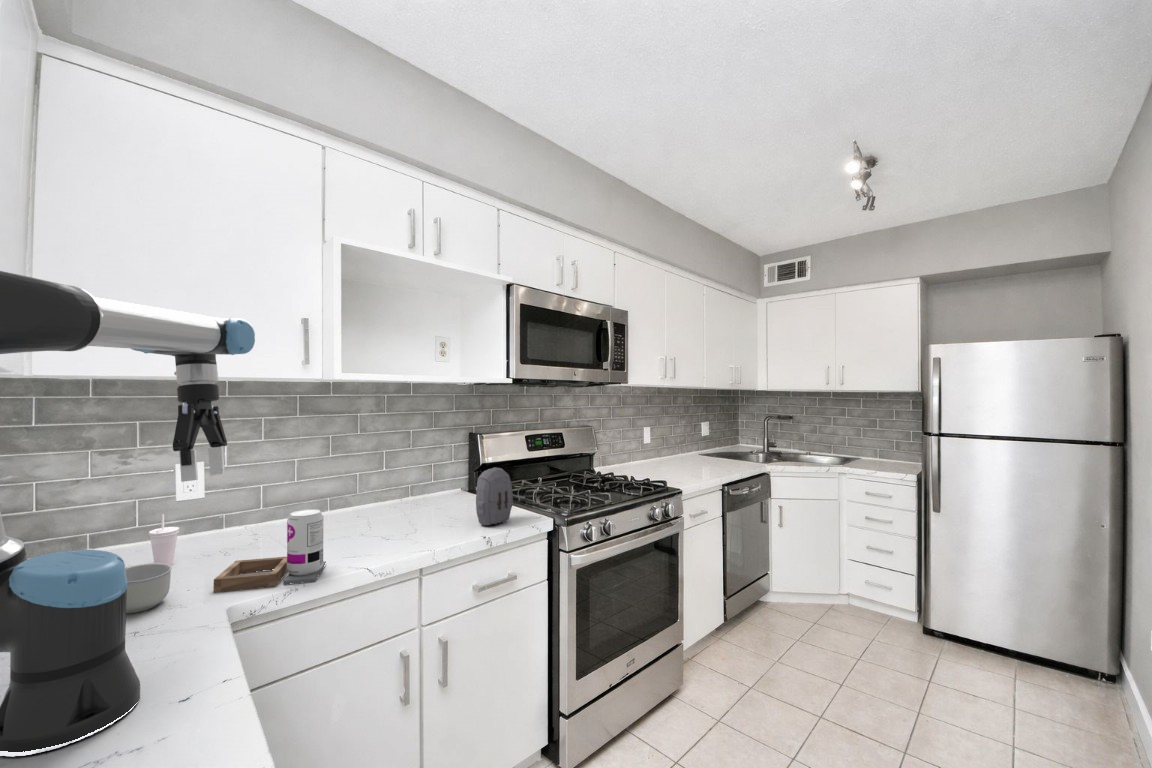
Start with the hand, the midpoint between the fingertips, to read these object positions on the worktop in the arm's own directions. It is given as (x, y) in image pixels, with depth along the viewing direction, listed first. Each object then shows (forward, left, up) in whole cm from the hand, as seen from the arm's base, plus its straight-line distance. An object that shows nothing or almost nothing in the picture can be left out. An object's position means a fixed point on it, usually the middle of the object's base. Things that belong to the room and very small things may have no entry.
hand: (204, 477), depth 111 cm
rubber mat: (+11, -18, -28) cm, 35 cm away
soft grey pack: (+45, -71, -28) cm, 88 cm away
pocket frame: (+11, -7, -28) cm, 31 cm away
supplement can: (+11, -18, -27) cm, 34 cm away
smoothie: (+28, +20, -28) cm, 45 cm away
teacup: (-1, +13, -28) cm, 31 cm away
